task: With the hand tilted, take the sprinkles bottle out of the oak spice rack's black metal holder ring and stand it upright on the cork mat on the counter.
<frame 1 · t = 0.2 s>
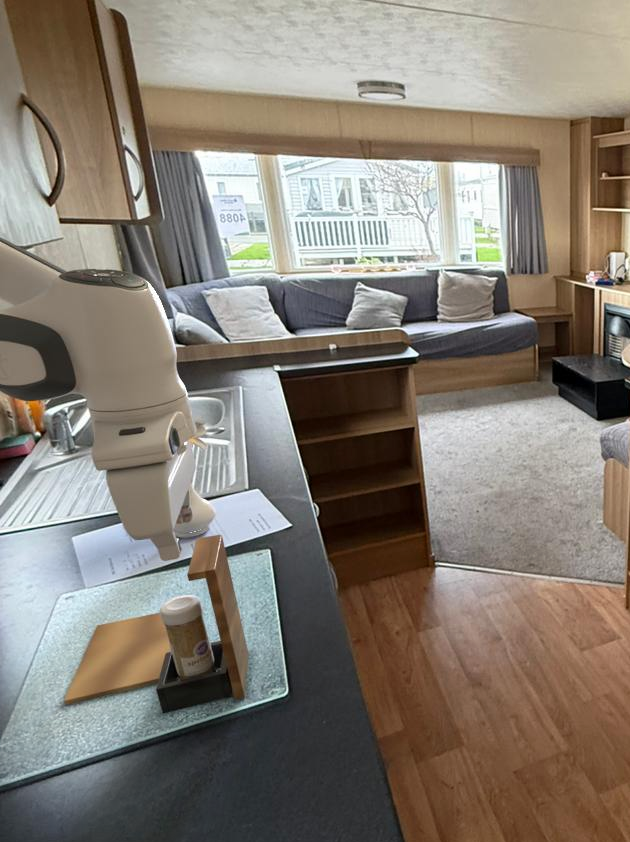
hand: (178, 537, 75), 26 cm above the counter, tool pointing down, fingers open, 8 cm apart
cork mat: (132, 653, 96), on the counter
spice rack: (201, 686, 89), on the counter
sprinkles bottle: (201, 687, 90), resting in spice rack
flower vase: (191, 530, 132), on the counter
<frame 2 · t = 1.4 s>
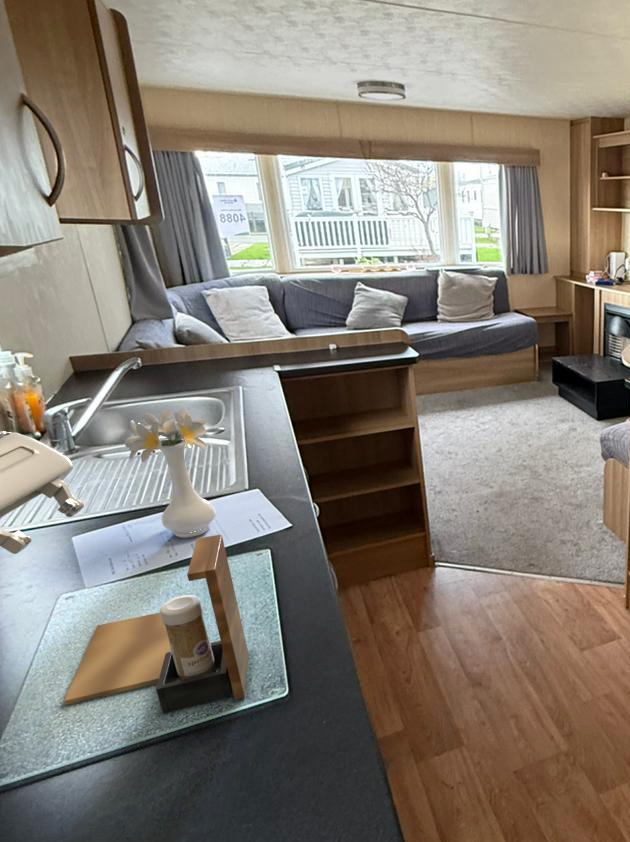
hand: (52, 528, 79), 25 cm above the counter, tool tilted 45°, fingers open, 8 cm apart
nothing on the counter moved.
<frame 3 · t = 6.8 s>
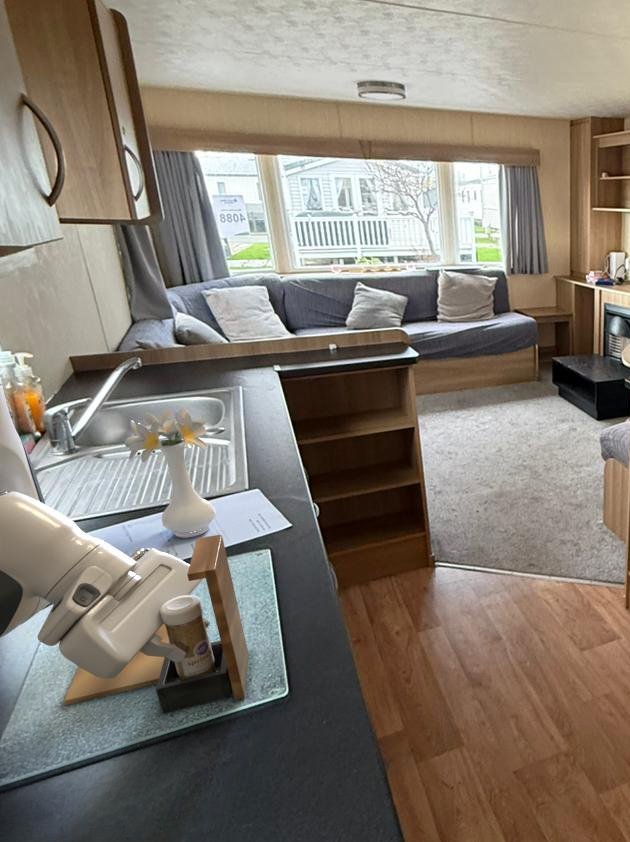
hand: (195, 642, 87), 7 cm above the counter, tool tilted 45°, fingers closed on sprinkles bottle, 4 cm apart
sprinkles bottle: (201, 687, 90), resting in spice rack, touching gripper
everything else where it was.
when the fingers open (8 cm above the counter, at t = 16.2 s): sprinkles bottle stays where it is, resting on cork mat.
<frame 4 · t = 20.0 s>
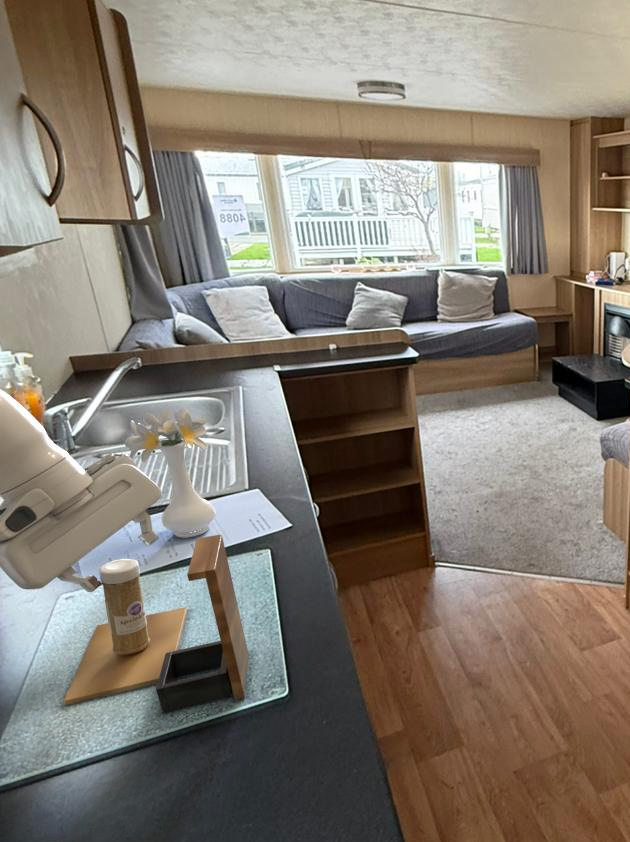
hand: (125, 564, 94), 13 cm above the counter, tool tilted 25°, fingers open, 8 cm apart
sprinkles bottle: (132, 648, 96), point 1 cm above the counter, touching cork mat
everything else where it was.
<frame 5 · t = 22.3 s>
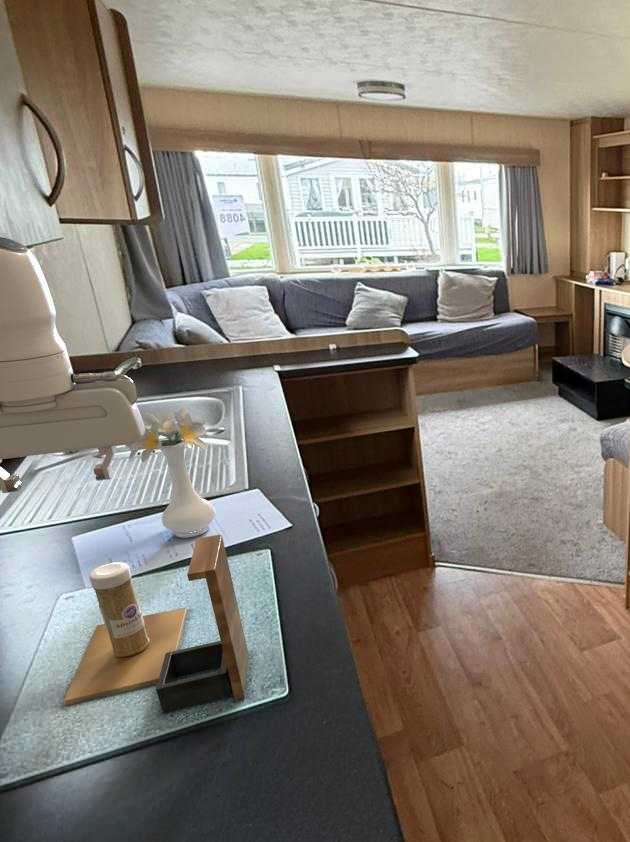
hand: (60, 484, 82), 29 cm above the counter, tool pointing down, fingers open, 8 cm apart
at the end: sprinkles bottle inside the target area on the cork mat (0.1 cm from its centre), point 0.6 cm above the cork mat's base; sprinkles bottle tilted 0°; the gripper is holding nothing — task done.
